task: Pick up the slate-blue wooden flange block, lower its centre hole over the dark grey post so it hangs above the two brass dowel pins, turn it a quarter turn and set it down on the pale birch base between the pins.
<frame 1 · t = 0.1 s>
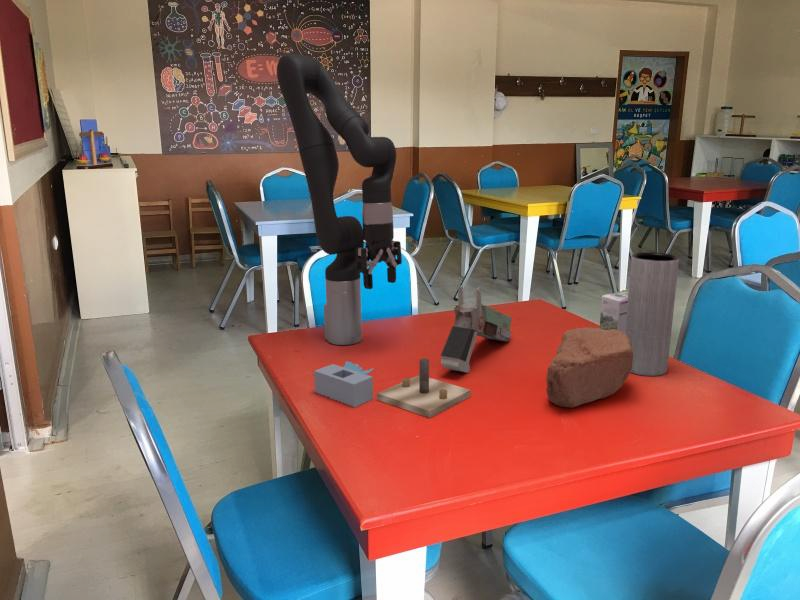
hand: (380, 285, 164), 17 cm above the table, tool pointing down, fingers open, 8 cm apart
stone: (583, 396, 139), on the table
vase: (644, 369, 154), on the table
ray gun: (477, 358, 163), on the table
syrup box: (613, 351, 167), on the table
decorative object: (344, 374, 154), on the table
flange: (343, 395, 140), on the table
post base: (424, 398, 138), on the table
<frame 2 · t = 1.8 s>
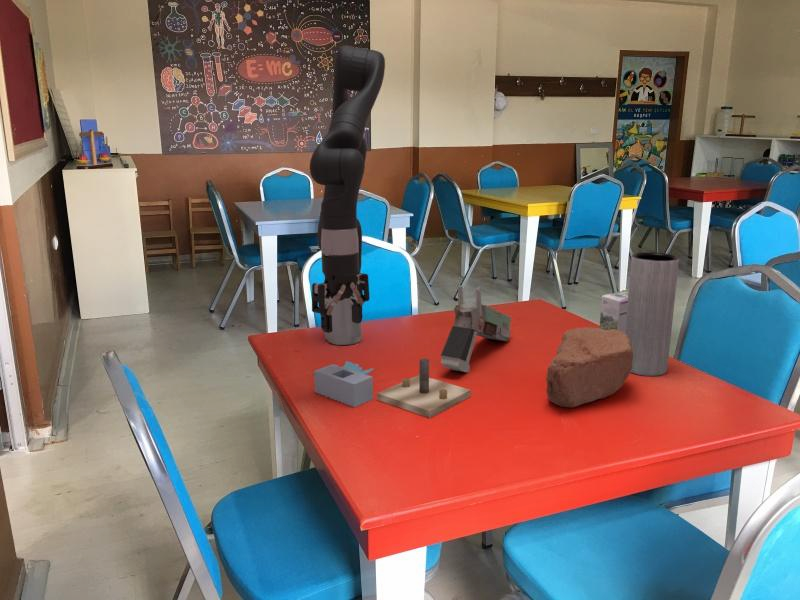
hand: (342, 327, 136), 15 cm above the table, tool pointing down, fingers open, 8 cm apart
nothing on the table moved.
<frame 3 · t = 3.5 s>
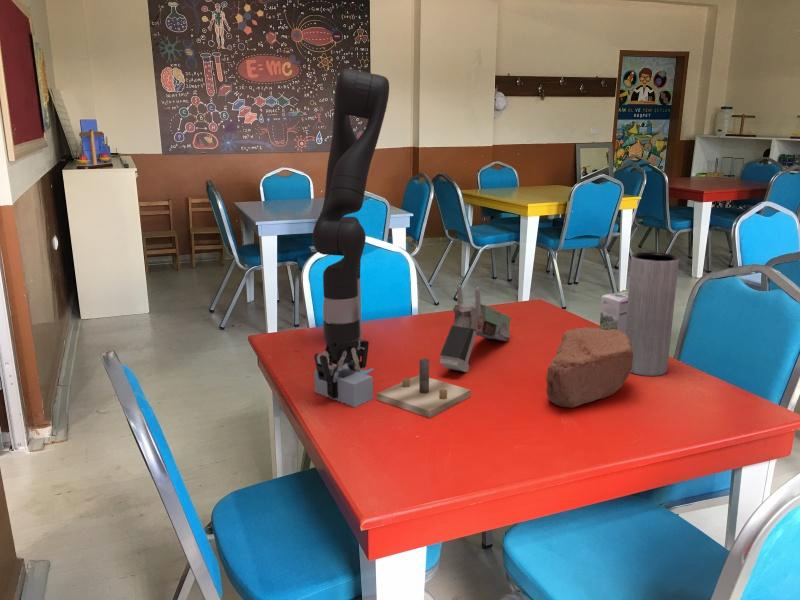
hand: (343, 392, 140), 1 cm above the table, tool pointing down, fingers closed on flange, 5 cm apart
flange: (343, 395, 140), on the table, touching gripper
everything else where it was.
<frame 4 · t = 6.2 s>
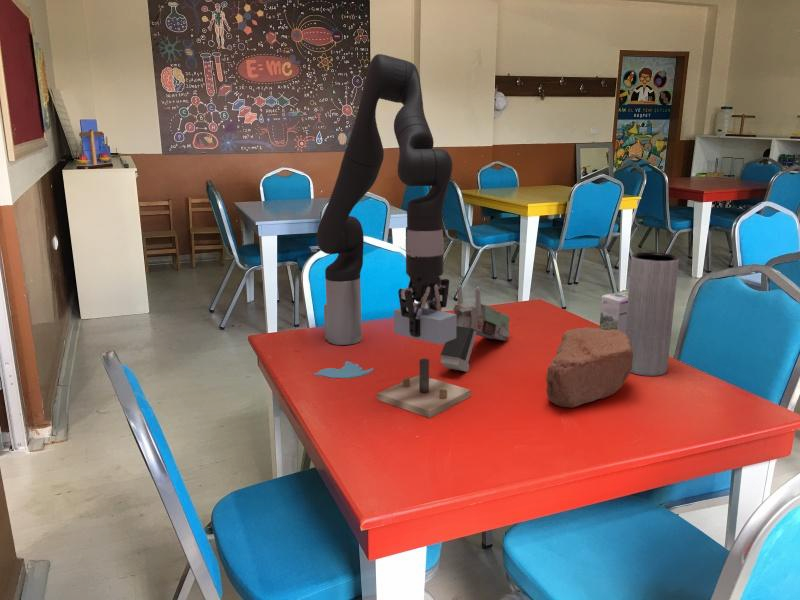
hand: (424, 332, 135), 15 cm above the table, tool pointing down, fingers closed on flange, 5 cm apart
flange: (424, 335, 135), point 14 cm above the table, touching gripper
everything else where it was.
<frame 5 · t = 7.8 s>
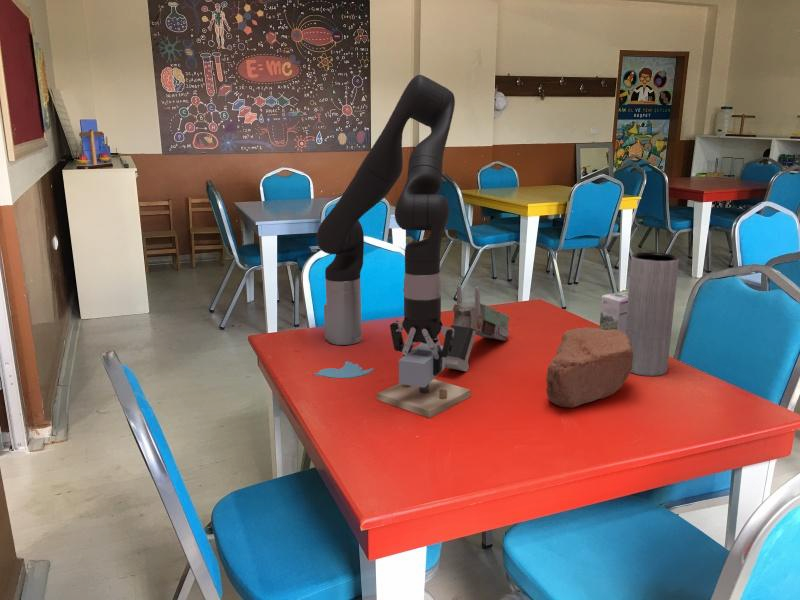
hand: (422, 372, 136), 6 cm above the table, tool pointing down, fingers closed on flange, 5 cm apart
flange: (422, 375, 137), point 5 cm above the table, touching gripper
everything else where it was.
when the fingers open (3 cm above the table, at t = 8.9 s): flange stays where it is, resting on post base.
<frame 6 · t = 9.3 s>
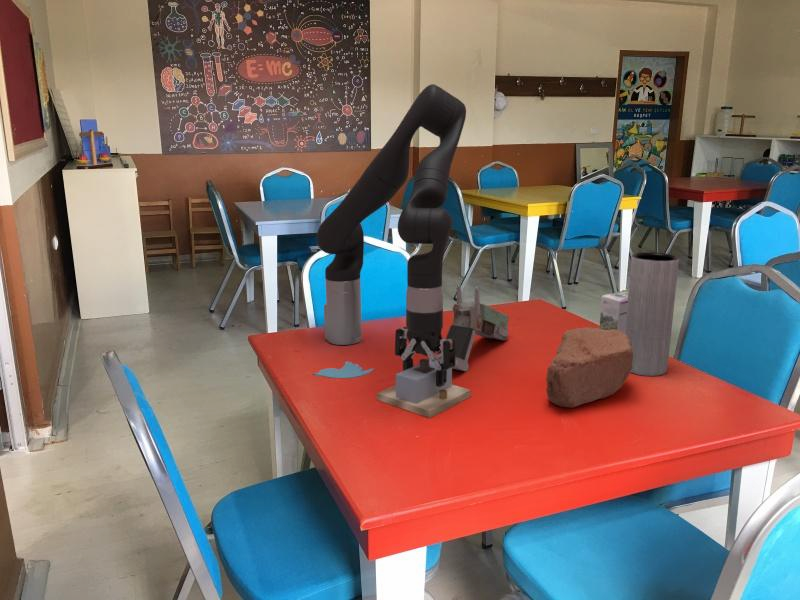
hand: (424, 381, 137), 4 cm above the table, tool pointing down, fingers open, 8 cm apart
flange: (424, 391, 138), point 1 cm above the table, touching post base
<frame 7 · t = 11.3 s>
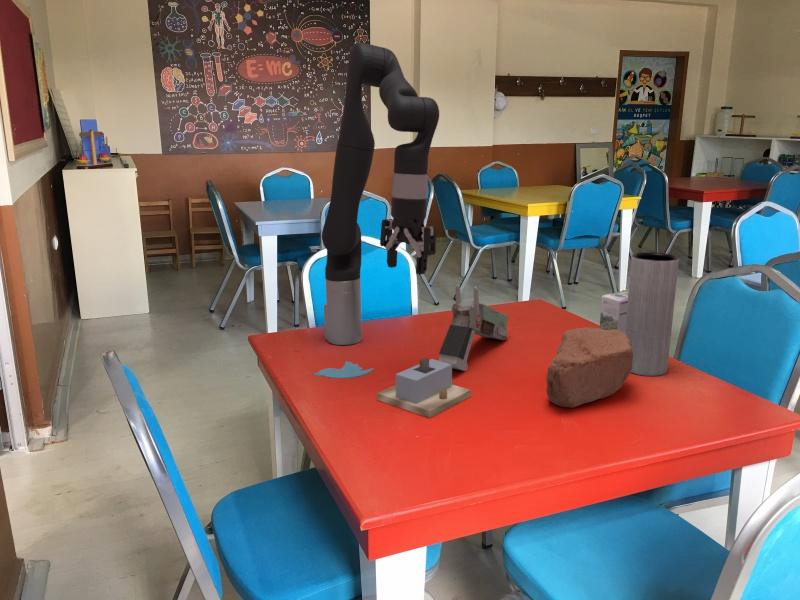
hand: (405, 270, 142), 25 cm above the table, tool pointing down, fingers open, 8 cm apart
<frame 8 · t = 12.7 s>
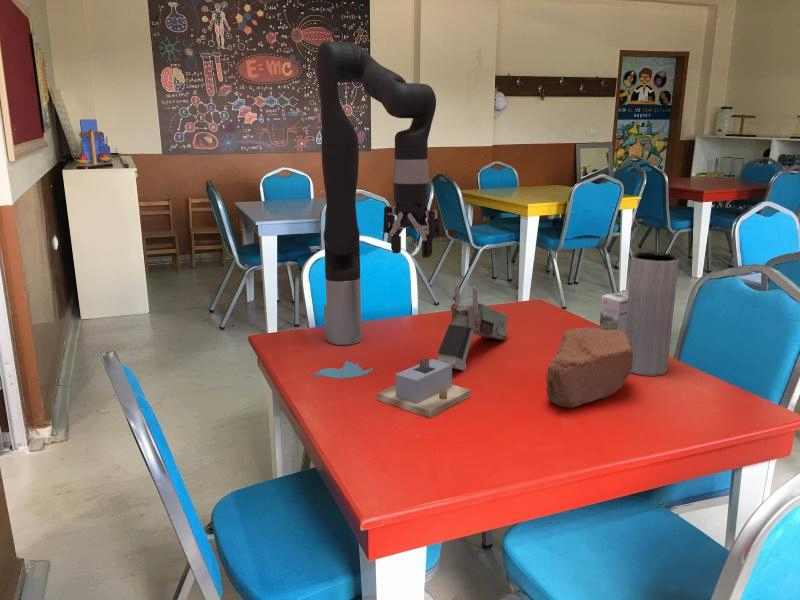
hand: (411, 255, 145), 28 cm above the table, tool pointing down, fingers open, 8 cm apart
at the end: flange 0.0 cm off-centre on the post base, point 1.5 cm above the post base's base; flange tilted 0°; the gripper is holding nothing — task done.
